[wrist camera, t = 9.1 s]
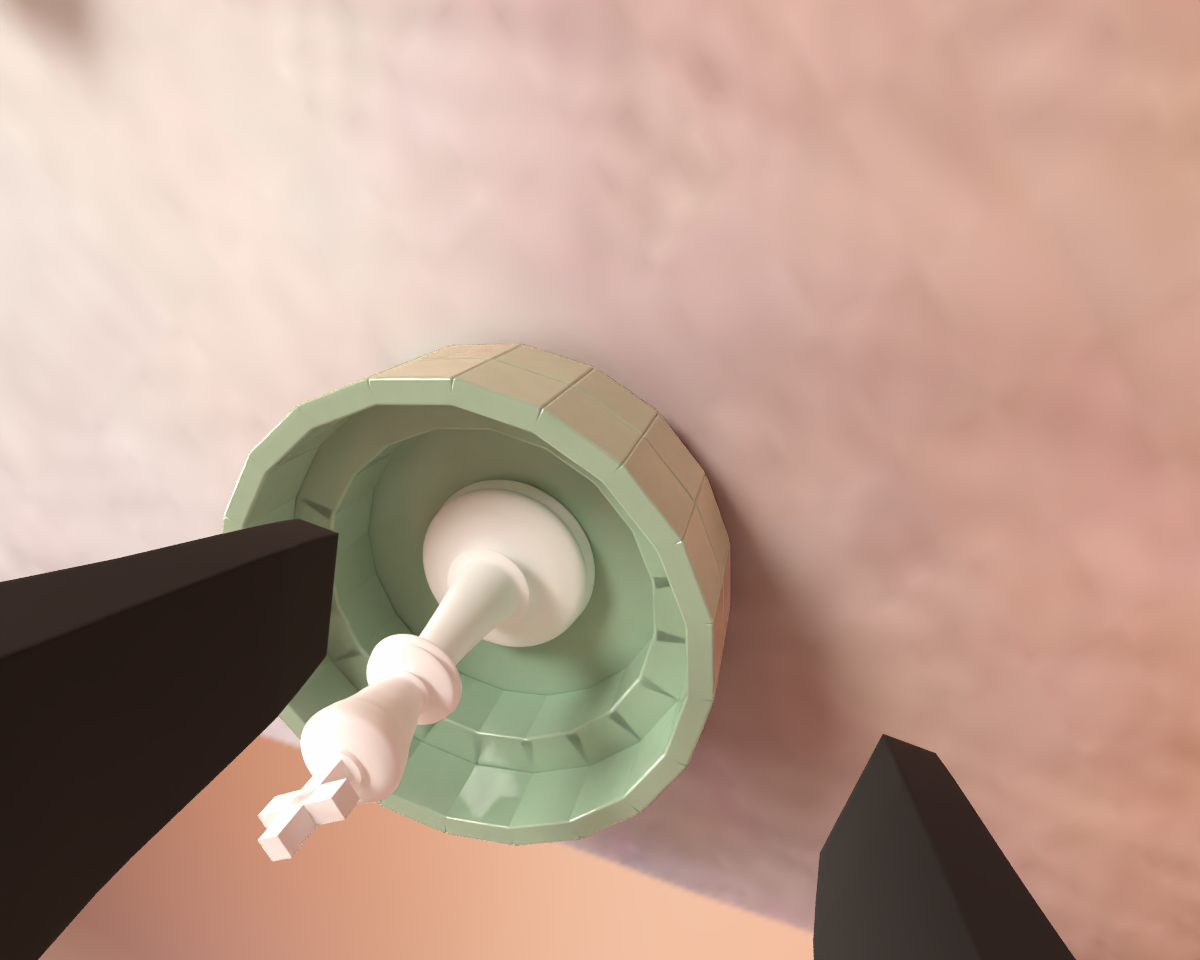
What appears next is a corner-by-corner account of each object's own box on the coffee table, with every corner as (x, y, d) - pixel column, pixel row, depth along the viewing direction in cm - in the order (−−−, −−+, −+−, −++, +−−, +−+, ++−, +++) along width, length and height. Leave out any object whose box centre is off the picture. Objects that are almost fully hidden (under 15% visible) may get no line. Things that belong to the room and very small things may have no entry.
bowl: (799, 425, 17) (799, 491, 13) (660, 784, 22) (629, 913, 18) (351, 283, 19) (228, 303, 15) (314, 645, 24) (214, 735, 20)
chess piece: (625, 610, 20) (477, 950, 11) (482, 654, 22) (251, 978, 12) (544, 452, 19) (304, 681, 10) (401, 513, 20) (85, 754, 11)
